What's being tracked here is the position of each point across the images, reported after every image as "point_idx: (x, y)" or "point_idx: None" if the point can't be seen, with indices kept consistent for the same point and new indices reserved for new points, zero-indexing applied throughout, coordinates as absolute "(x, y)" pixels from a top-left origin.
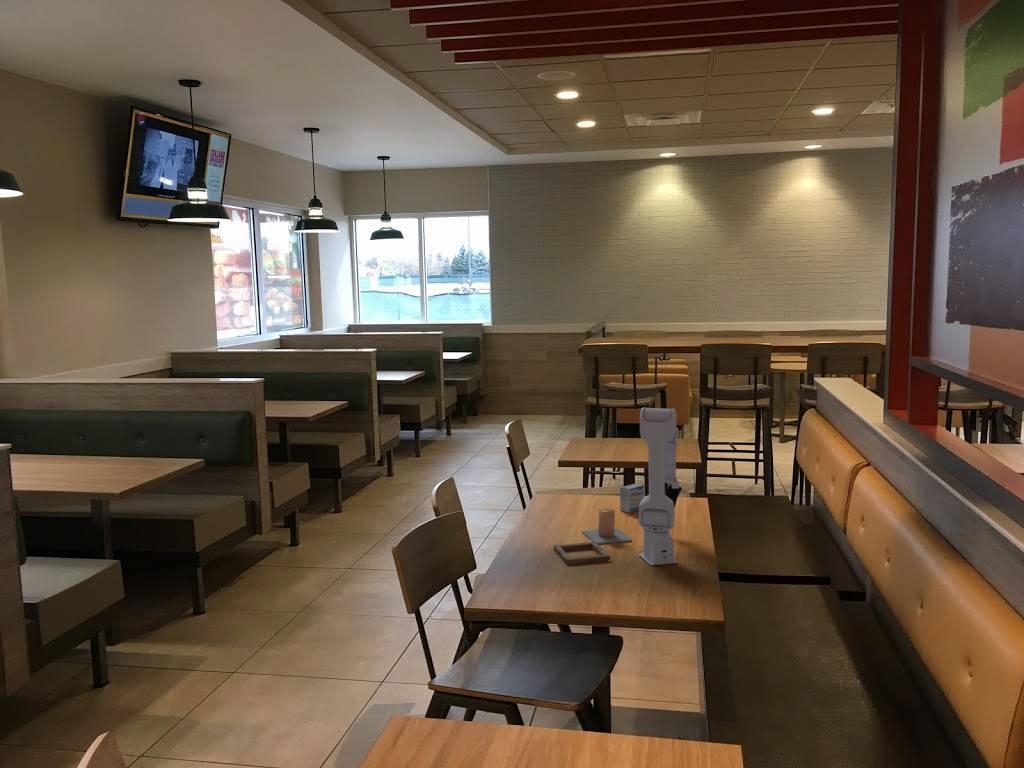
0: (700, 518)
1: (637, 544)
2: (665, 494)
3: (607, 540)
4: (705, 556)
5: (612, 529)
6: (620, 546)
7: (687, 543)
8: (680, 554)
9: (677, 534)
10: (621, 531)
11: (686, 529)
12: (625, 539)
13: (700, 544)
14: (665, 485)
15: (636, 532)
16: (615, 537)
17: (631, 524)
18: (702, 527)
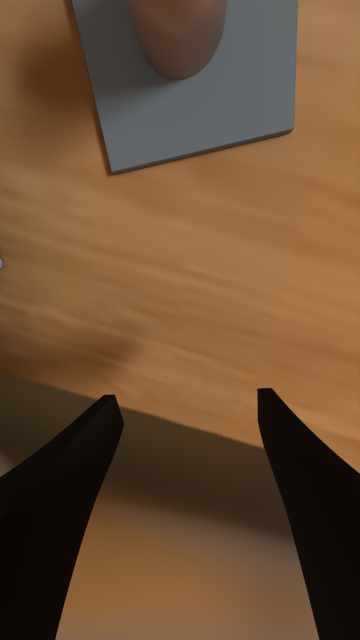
0: None
1: (82, 192)
2: (33, 482)
3: (93, 10)
4: (4, 369)
5: (132, 16)
6: (49, 97)
7: (102, 362)
8: (5, 315)
9: (186, 362)
10: (233, 140)
11: (230, 400)
12: (113, 137)
13: (95, 389)
14: (316, 601)
15: (232, 226)
16: (144, 80)
17: (352, 230)
18: (239, 440)
